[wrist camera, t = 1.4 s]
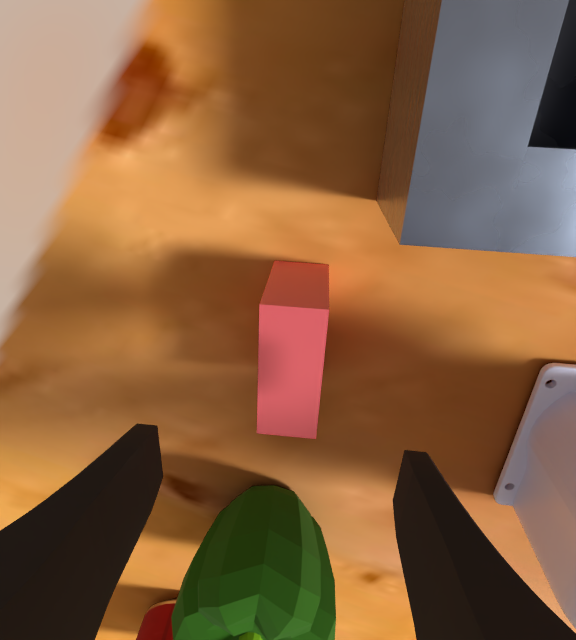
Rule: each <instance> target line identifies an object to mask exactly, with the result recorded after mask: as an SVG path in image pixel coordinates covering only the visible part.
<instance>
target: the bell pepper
mask: <svg viewBox="0 0 576 640" xmlns="http://www.w3.org/2000/svg"><path fill="white" fill-rule="evenodd" d="M171 619H172V632H173V640H335V624H336V609H335V581H334V577H333V572H332V568H331V564H330V560H329V555H328V551H327V547H326V544H325V541H324V537H323V534H322V531H321V528H320V526H319V525H318V523H317V522H316V521H315V519H314V518H313V517H312V516H311V514H310V513H309V511H308V510H307V509H306V507H305V506H304V504H303V503H302V502H301V500H300V499H299V498H298V496H297V495H296V494H295V492H294V491H290V490H287V489H284V488H281V487H278V486H275V485H269V486H252V487H251V488H249V489H248V490H246V491H245V492H243V493H242V494H241V495H239V496H238V497H237V498H236V499H234V500H233V501H232V502H231V503H230V505H228V506H227V507H226V508H225V509H223V510H222V511H221V512H220V513H219V515H218V516H217V518H216V519H215V521H214V523H213V524H212V526H211V527H210V529H209V531H208V532H207V534H206V536H205V538H204V540H203V542H202V543H201V545H200V547H199V549H198V551H197V553H196V554H195V556H194V558H193V560H192V562H191V564H190V566H189V569H188V571H187V573H186V575H185V577H184V579H183V582H182V585H181V588H180V592H179V595H178V598H177V601H176V604H175V607H174V610H173V613H172V616H171Z"/></svg>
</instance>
